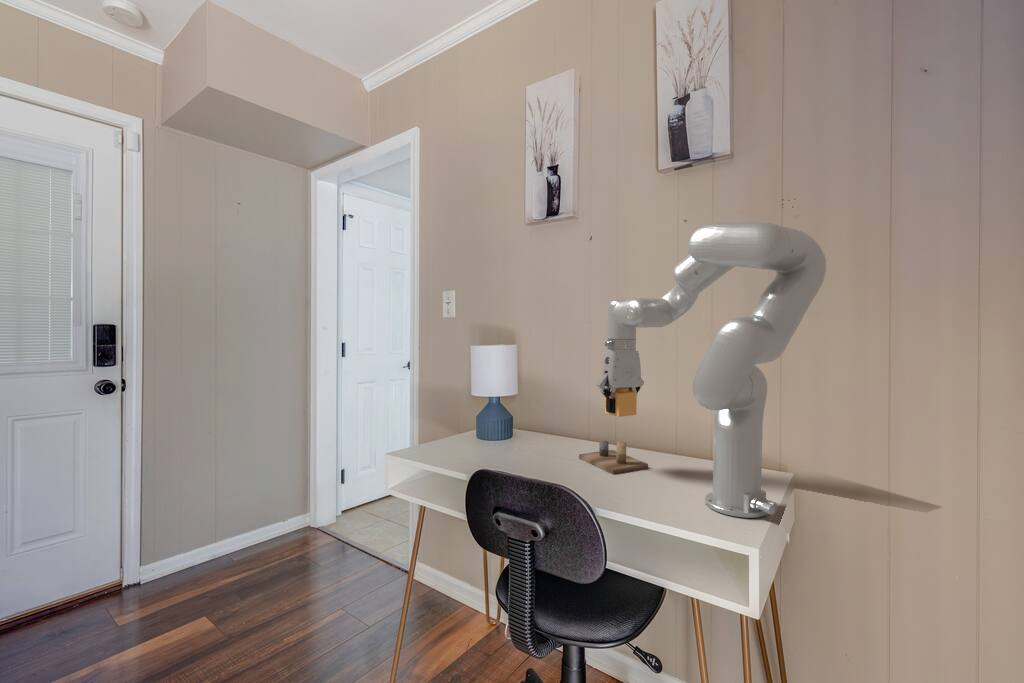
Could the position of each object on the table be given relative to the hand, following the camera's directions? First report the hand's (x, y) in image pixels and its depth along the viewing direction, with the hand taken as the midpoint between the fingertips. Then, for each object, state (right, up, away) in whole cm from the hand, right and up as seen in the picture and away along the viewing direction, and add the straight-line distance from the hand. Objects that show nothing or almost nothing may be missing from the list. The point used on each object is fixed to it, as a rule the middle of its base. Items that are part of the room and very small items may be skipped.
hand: (620, 410), depth 127 cm
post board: (-1, -16, +6) cm, 17 cm away
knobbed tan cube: (0, -1, 0) cm, 1 cm away
